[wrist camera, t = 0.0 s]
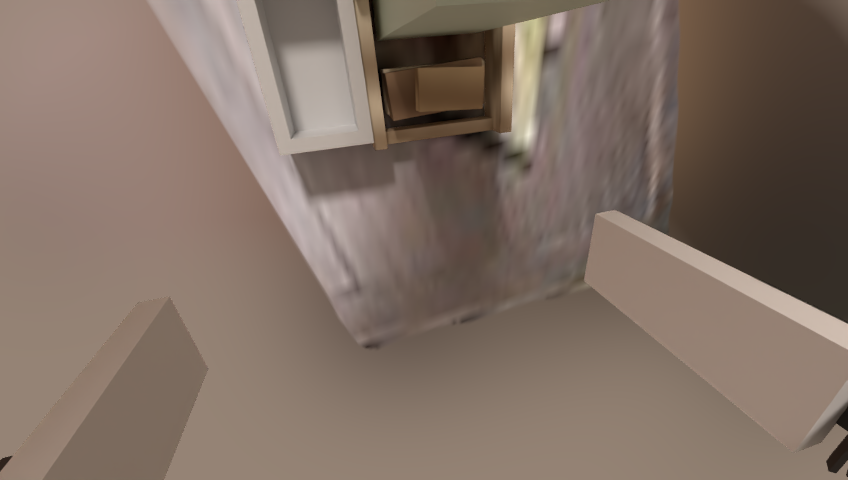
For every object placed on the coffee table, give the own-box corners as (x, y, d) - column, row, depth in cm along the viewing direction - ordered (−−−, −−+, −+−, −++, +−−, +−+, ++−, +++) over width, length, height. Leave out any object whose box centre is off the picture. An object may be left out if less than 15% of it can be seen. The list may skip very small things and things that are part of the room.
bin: (237, -36, 27) (220, -57, 23) (341, -40, 28) (344, -60, 24) (286, 144, 34) (280, 155, 29) (368, 133, 35) (374, 142, 31)
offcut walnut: (382, 73, 31) (385, 73, 30) (473, 57, 33) (481, 57, 31) (390, 118, 33) (393, 120, 31) (476, 101, 34) (484, 103, 33)
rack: (345, -24, 29) (349, -44, 24) (496, -31, 31) (530, -50, 26) (370, 142, 35) (378, 154, 30) (494, 125, 38) (520, 134, 33)
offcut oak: (414, 68, 30) (418, 68, 29) (478, 66, 31) (484, 66, 30) (415, 110, 31) (419, 111, 30) (476, 107, 33) (482, 108, 31)
